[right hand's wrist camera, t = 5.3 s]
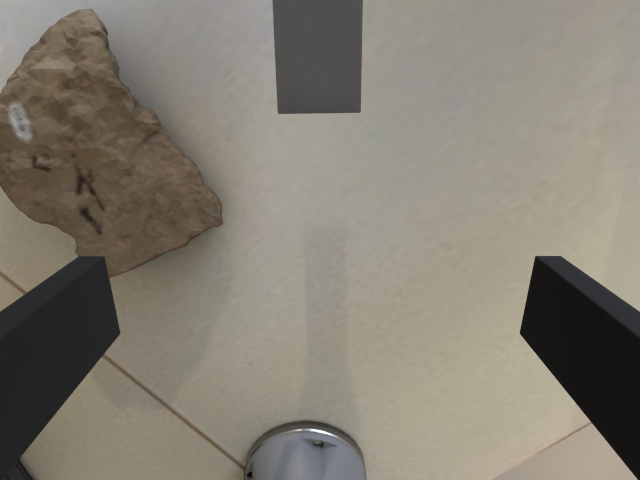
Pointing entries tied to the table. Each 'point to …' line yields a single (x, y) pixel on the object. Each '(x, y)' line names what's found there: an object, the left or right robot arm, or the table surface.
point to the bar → (318, 55)
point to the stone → (96, 153)
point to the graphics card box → (17, 473)
